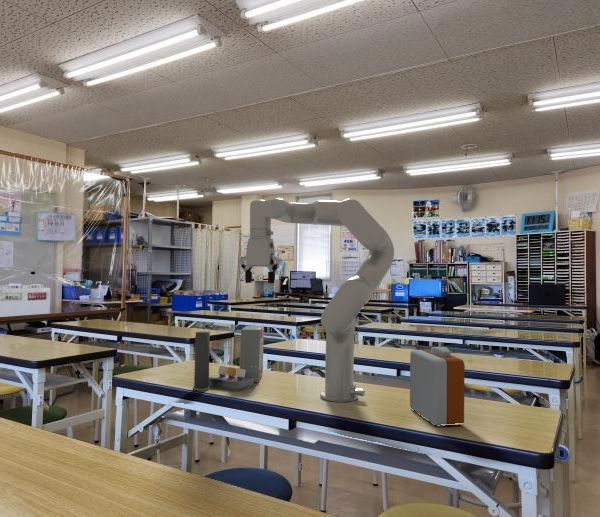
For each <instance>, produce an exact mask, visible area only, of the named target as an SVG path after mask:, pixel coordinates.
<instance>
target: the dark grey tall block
mask: <svg viewBox="0 0 600 517" xmlns="http://www.w3.org/2000/svg"><path fill="white" fill-rule="evenodd" d="M210 337H211V332H210V331H196V332H195V338H194V340H195V341H194V342H195V344H194V382H193V383H194V384H193V387H192V389H194V390H193V391H195V390H197V391H196V392H206V391H209V390H210V386H209V377H210V348H211V347H210V346H211V344H210V342H211V341H210Z"/></svg>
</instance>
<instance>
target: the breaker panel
mask: <svg viewBox="0 0 600 517" xmlns="http://www.w3.org/2000/svg"><path fill="white" fill-rule="evenodd" d="M253 381H254V378H251V377H244V378H243V379H237V376H234V377H233V378H231V377H228V375H225V376H220V375H219V374H216V375H213V376H209V388H210V387H212V388H215V389H216V388H217V389H223V390H229V391H234V392H235V391H236V392H241V391H244V390H247V389H249V388H248V387H250V388H251V386H252V387H254V382H253ZM246 388H247V389H246ZM243 389H244V390H243Z"/></svg>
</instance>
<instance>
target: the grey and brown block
mask: <svg viewBox="0 0 600 517" xmlns="http://www.w3.org/2000/svg"><path fill="white" fill-rule="evenodd" d="M409 358H410V361H409V362H410V363H409V366H410V367H409V408H410V407H411V408H412V409H413V410H415V411H416V412H417V413H419V414H420V415H422V416H423V417H425V418H426V419H428V420H429V421H430V422H432V423H433V424H435V425H441V424H455V423H465V370H466V369H465V361H464V360H463V359H462V358H459V357H455V356H454V355H451V351H450V349H449V348H448V347H447V346H432V347H431V348H430V349H413V350H411V351H410V357H409ZM411 408H410V409H411ZM412 409H411V410H412ZM413 410H412V411H413ZM416 412H415V413H416ZM417 413H416V414H417ZM420 415H419V416H420ZM423 417H422V418H423Z"/></svg>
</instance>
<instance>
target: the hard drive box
mask: <svg viewBox="0 0 600 517" xmlns="http://www.w3.org/2000/svg"><path fill="white" fill-rule="evenodd" d="M264 335H265V326H263V325H245V327H243V328H242V329H241V330H240V344H239V345H240V346H239V347H240V348H239V349H240V350H239V351H240V352H239V369H244V370H246V372H245V377H251V378H254V381H253V383H259V381H260V380H261V378H262V376H263V372H264V370H263V368H264V342H265V341H264Z"/></svg>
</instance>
